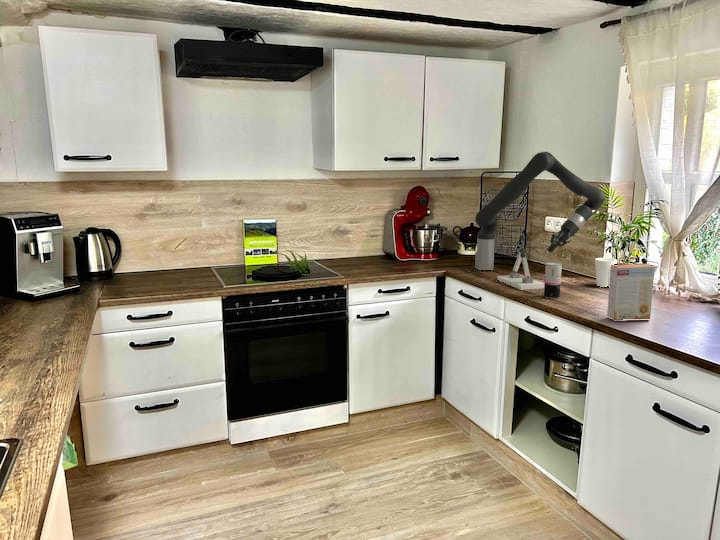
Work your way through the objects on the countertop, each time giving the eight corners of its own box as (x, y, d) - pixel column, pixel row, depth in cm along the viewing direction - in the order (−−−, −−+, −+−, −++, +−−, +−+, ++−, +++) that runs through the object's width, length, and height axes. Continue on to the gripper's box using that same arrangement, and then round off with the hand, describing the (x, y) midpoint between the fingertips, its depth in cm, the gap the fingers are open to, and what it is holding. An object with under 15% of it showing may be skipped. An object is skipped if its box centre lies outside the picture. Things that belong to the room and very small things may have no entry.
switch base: (520, 278, 277) (520, 270, 276) (545, 288, 256) (545, 279, 255) (497, 280, 274) (497, 272, 273) (520, 289, 253) (521, 281, 252)
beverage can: (540, 296, 240) (542, 263, 237) (549, 294, 244) (551, 261, 241) (553, 299, 235) (555, 265, 232) (562, 297, 239) (564, 263, 236)
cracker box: (641, 316, 208) (646, 263, 204) (650, 321, 203) (656, 266, 198) (605, 317, 208) (610, 263, 204) (613, 322, 202) (618, 267, 198)
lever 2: (529, 276, 260) (523, 251, 257) (532, 277, 257) (526, 252, 254) (523, 278, 259) (518, 253, 256) (527, 279, 257) (521, 253, 253)
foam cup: (592, 287, 256) (594, 260, 254) (594, 283, 264) (596, 257, 262) (614, 289, 252) (616, 261, 249) (615, 285, 260) (617, 258, 257)
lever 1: (515, 273, 271) (524, 248, 270) (518, 274, 269) (527, 249, 267) (510, 271, 271) (519, 247, 269) (513, 272, 268) (522, 247, 267)
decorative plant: (299, 267, 314) (298, 241, 311) (311, 277, 286) (310, 249, 283) (268, 269, 308) (267, 243, 305) (277, 279, 280) (276, 251, 278)
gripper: (560, 217, 264) (536, 244, 264) (577, 220, 251) (552, 248, 251) (569, 228, 266) (545, 254, 266) (586, 231, 254) (561, 258, 253)
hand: (549, 251), depth 258 cm, fingers closed
